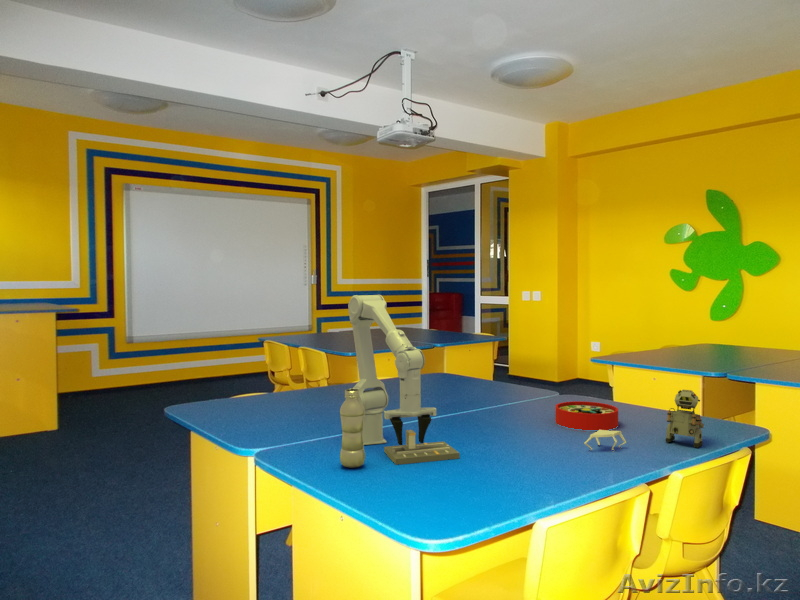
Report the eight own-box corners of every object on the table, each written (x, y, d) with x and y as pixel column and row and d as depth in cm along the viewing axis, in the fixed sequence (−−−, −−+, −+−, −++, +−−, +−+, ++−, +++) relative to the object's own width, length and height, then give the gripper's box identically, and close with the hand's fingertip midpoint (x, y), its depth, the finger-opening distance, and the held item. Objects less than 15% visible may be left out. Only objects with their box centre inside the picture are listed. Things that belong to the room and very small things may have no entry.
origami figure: (602, 442, 170) (602, 426, 170) (627, 449, 163) (628, 432, 163) (576, 449, 163) (576, 432, 163) (601, 456, 156) (601, 438, 156)
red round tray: (543, 404, 197) (590, 399, 205) (543, 421, 198) (590, 415, 205) (581, 416, 179) (631, 410, 186) (581, 435, 179) (631, 428, 186)
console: (395, 464, 150) (395, 456, 150) (384, 452, 162) (383, 444, 162) (459, 458, 155) (459, 450, 155) (444, 446, 167) (443, 439, 167)
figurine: (708, 441, 170) (709, 391, 169) (696, 450, 161) (696, 397, 161) (676, 436, 176) (676, 387, 176) (662, 443, 168) (663, 392, 167)
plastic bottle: (352, 461, 154) (351, 386, 153) (370, 466, 149) (369, 389, 149) (334, 467, 149) (333, 390, 148) (353, 472, 144) (352, 393, 144)
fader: (405, 453, 155) (405, 433, 155) (402, 449, 159) (401, 430, 158) (419, 451, 156) (419, 432, 156) (415, 448, 160) (415, 429, 160)
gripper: (388, 398, 151) (388, 449, 152) (440, 394, 155) (440, 444, 156) (381, 393, 158) (382, 442, 159) (431, 390, 162) (431, 438, 163)
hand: (410, 443), depth 158 cm, fingers open, 5 cm apart
